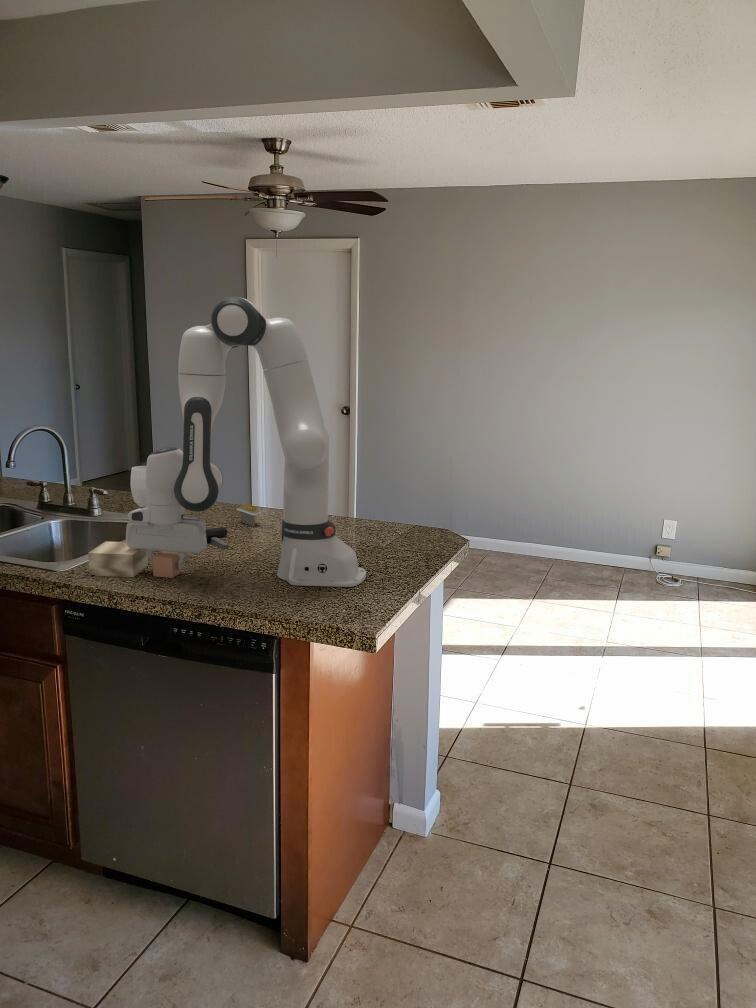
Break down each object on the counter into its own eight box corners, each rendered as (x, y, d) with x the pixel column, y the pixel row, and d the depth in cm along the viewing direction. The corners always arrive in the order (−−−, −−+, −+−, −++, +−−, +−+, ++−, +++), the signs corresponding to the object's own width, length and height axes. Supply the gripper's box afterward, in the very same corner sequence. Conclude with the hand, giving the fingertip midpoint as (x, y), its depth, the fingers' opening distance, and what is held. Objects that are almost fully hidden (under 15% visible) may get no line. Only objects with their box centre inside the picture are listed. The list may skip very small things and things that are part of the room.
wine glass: (150, 541, 225) (148, 470, 221) (127, 539, 226) (124, 468, 222) (162, 535, 232) (160, 466, 228) (140, 533, 233) (137, 465, 229)
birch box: (148, 565, 203) (147, 543, 202) (133, 578, 192) (132, 554, 191) (106, 563, 203) (105, 541, 202) (89, 576, 193) (88, 552, 191)
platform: (251, 517, 260) (251, 498, 259) (281, 528, 247) (281, 508, 245) (219, 522, 252) (219, 502, 251) (248, 533, 239) (248, 512, 238)
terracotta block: (181, 572, 197) (180, 552, 196) (172, 577, 193) (171, 558, 192) (162, 570, 198) (162, 551, 197) (153, 576, 194) (152, 556, 192)
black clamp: (247, 539, 223) (221, 524, 235) (181, 549, 211) (157, 533, 223) (247, 550, 224) (221, 535, 236) (181, 560, 212) (157, 544, 224)
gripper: (210, 513, 193) (211, 567, 196) (134, 508, 197) (136, 561, 200) (200, 519, 187) (201, 574, 190) (121, 513, 191) (123, 567, 194)
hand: (167, 567), depth 195 cm, fingers closed on terracotta block, 5 cm apart
